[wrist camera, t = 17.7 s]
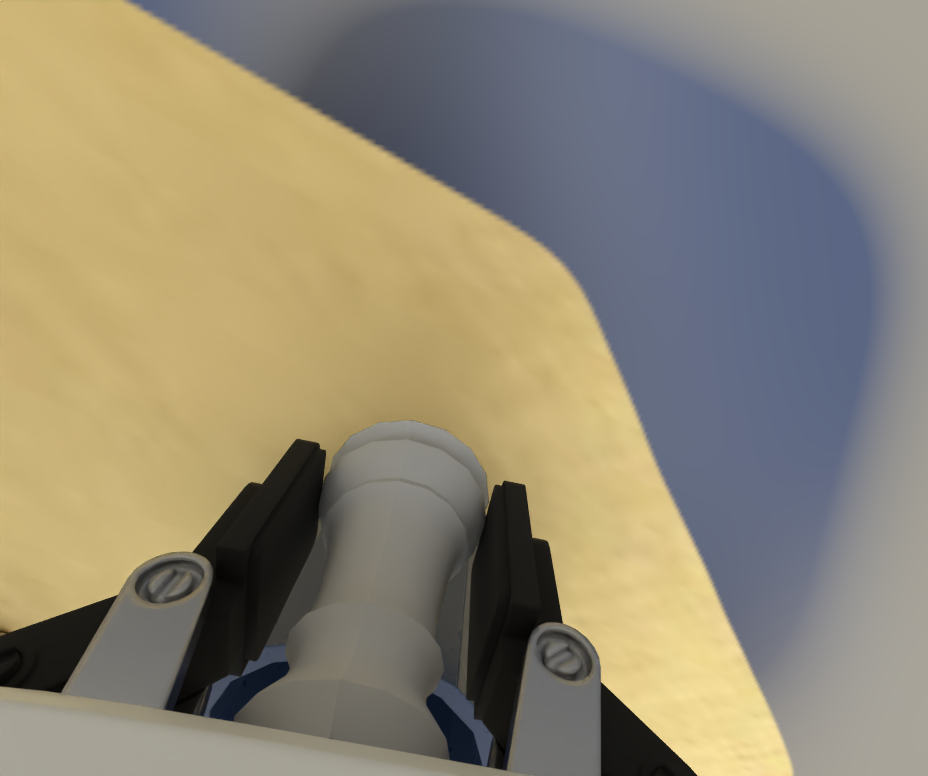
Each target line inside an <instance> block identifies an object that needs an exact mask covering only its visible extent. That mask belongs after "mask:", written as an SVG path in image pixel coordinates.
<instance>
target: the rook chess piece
mask: <svg viewBox="0 0 928 776" xmlns="http://www.w3.org/2000/svg"><path fill="white" fill-rule="evenodd" d="M488 502H489V499H488V488H487V476H486V473H485V472H484V470H483V468H482V467H481V465H480V463H479V461H478V460H477V458H476V456H475V455H474V453H473V451H472V450H471V449H470V448H469V447H468V446H466V445H465V444H464V443H462V442H461V441H460V440H458V439H457V438H456V437H454V436H453V435H451V434H450V433H449V432H447V431H446V430H444V429H441V428H437V427H434V426H430V425H427V424H424V423H420V422H417V421H413V420H410V421H394V422H379V423H377V424H375V425H373V426H371V427H369V428H367V429H364V430H362V431H360V432H358V433H356V434H354V435H352V436H350V438H349V439H348V440H347V441H346V442H345V444H344V445H343V446H342V447H341V448H340V450H339V451H338V452H337V453H336V454H335V456H334V457H333V459H332V463H331V467H330V472H329V473H328V474H327V475H326V476H325V479H324V483H323V488H322V492H321V497H320V502H319V509H318V515H319V519H320V523H321V526H322V530H323V532H322V536H323V540H324V544H325V548H326V552H327V560H326V565H325V569H324V573H323V577H322V581H321V586H320V590H319V593H318V595H317V597H316V600H315V602H314V605H313V607H312V609H311V612H309V613H307V614H306V615H305V616H304V617H303V618H302V619H301V620H300V621H299V622H298V623H297V624H296V625H295V626H294V627H293V628H292V629H291V630H290V631H289V636H288V640H287V645H286V649H285V655H286V658H287V661H288V664H289V666H290V669H289V671H288V673H287V675H286V676H284V677H283V678H281V679H279V680H278V681H276V682H275V683H273V684H271V685H270V686H268V687H267V688H265V689H264V690H262V691H260V692H259V693H257V694H256V695H255V696H254V697H253V698H252V699H251V700H250V701H249V702H248V703H247V704H246V705H245V706H244V707H243V708H242V709H241V710H240V711H239V712H238V713H237V714H236V715H235V716H234V722H238V723H244V724H249V725H255V726H261V727H267V728H272V729H278V730H284V731H289V732H295V733H301V734H306V735H312V736H318V737H323V738H329V739H334V740H340V741H346V742H351V743H357V744H363V745H368V746H374V747H379V748H385V749H391V750H396V751H402V752H407V753H413V754H418V755H424V756H429V757H435V758H440V759H445V760H450V758H449V752H448V746H447V740H446V738H445V736H444V734H443V733H442V731H441V729H440V728H439V726H438V724H437V723H436V721H435V719H434V717H433V716H432V714H431V712H430V711H429V709H428V707H427V706H426V699H427V697H428V696H429V695H430V694H432V693H433V692H434V691H435V690H436V688H437V686H438V683H439V681H440V679H441V676H442V674H443V672H444V666H443V660H442V653H441V648H440V646H439V645H438V644H437V642H436V634H437V625H438V618H439V615H440V611H441V608H442V604H443V600H444V597H445V593H446V589H447V586H448V582H449V581H450V580H451V579H452V578H453V577H454V576H455V575H456V574H457V573H458V572H460V569H461V567H462V565H463V564H464V563H465V562H466V561H467V560H468V559H469V558H470V557H471V556H472V555H473V553H474V551H475V548H476V546H477V544H478V541H479V539H480V536H481V534H482V531H483V529H484V526H485V521H486V514H485V510H486V507H487V505H488Z"/></svg>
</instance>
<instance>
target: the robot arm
mask: <svg viewBox="0 0 928 776" xmlns="http://www.w3.org/2000/svg"><path fill="white" fill-rule="evenodd" d="M325 459H326V451H325V450H322V449H320V445H319V443H316V442H311V441H306V440H301V439H296V440H295V441H294V443H293V444H292V445H291V447H290V448H289V449H288V451H287V452H286V453H285V455H284V456H283V457H282V459H281V460H280V461H279V463H278V464H277V465H276V467H275V468H274V469H273V471H272V472H271V473H270V474H269V476H268V477H267V478H266V480H265V481H264V482H263V484H258V483H253V482H251V483H249V484H248V485H247V486H246V487H245V488H244V489H243V490H242V491H241V493H240V494H239V495H238V496H237V498H236V499H235V500H234V501H233V503H232V504H231V505H230V506H229V508H228V509H227V510H226V511H225V512H224V514H223V515H222V516H221V517H220V519H219V520H218V521H217V522H216V524H215V525H214V526H213V527H212V529H211V530H210V531H209V532H208V534H207V535H206V536H205V537H204V539H203V540H202V541H201V542H200V543H199V545H198V546H197V547H196V548H195V550H194V551H193V552H192V553H190V552H172V553H167V554H164V555H160V556H157V557H155V558H153V559H150V560H148V561H146V562H145V563H143V564H142V565H140V566H139V567H138V568H136V569H135V570H134V571H133V573H132V574H131V575H130V576H129V578H128V579H127V581H126V582H125V584H124V586H123V587H122V589H121V591H120V593H119V594H118V595H116V596H113V597H111V598H108V599H105V600H102V601H99V602H96V603H93V604H91V605H88V606H85V607H82V608H79V609H76V610H73V611H71V612H68V613H65V614H62V615H59V616H56V617H53V618H50V619H48V620H45V621H42V622H39V623H36V624H33V625H30V626H28V627H25V628H22V629H19V630H16V631H13V632H10V633H7V634H5V635H2V636H0V776H697V775H696V774H695V772H694V771H693V770H692V769H691V768H690V767H689V766H688V765H687V764H686V763H685V762H684V761H683V760H682V759H681V758H680V757H679V756H678V755H677V754H676V753H675V752H673V751H672V750H671V749H670V748H669V747H668V746H667V745H666V744H665V743H664V742H663V741H662V740H661V739H660V738H659V737H658V736H657V735H656V734H655V733H654V732H653V731H652V730H651V729H649V728H648V727H647V726H646V725H645V724H644V723H643V722H642V721H641V720H640V719H639V718H638V717H637V716H636V715H635V714H634V713H633V712H632V711H631V710H630V709H629V708H628V707H627V706H625V705H624V704H623V703H622V702H621V701H620V700H619V699H618V698H617V697H616V696H615V695H614V694H613V693H612V692H611V691H610V690H609V689H608V688H607V687H606V686H605V685H604V684H603V683H601V667H600V661H599V656H598V654H597V652H596V650H595V648H594V646H593V645H592V644H591V643H590V641H589V640H588V639H587V638H586V637H585V636H584V635H583V634H581V633H580V632H579V631H578V630H576V629H574V628H572V627H570V626H568V625H565V624H563V621H562V616H561V610H560V604H559V598H558V593H557V587H556V581H555V575H554V570H553V564H552V558H551V552H550V547H549V543H548V542H547V541H546V540H541V539H536V538H532V533H531V525H530V517H529V510H528V502H527V494H526V487H525V485H523V484H518V483H513V482H508V481H504V482H503V484H502V486H500V485H495V487H494V489H493V493H492V497H491V500H490V504H489V507H488V511H487V514H486V521H485V526H484V529H483V531H482V534H481V536H480V539H479V543H478V546H477V550H476V554H475V557H474V561H473V565H472V571H471V586H470V610H469V634H468V658H467V682H466V699H467V700H468V701H474V719H475V720H481V721H482V723H483V724H484V725H485V726H486V728H487V729H488V730H489V731H490V733H491V734H492V735H493V738H492V742H491V747H490V752H489V757H488V761H487V766H486V767H483V766H478V765H473V764H467V763H462V762H456V761H451V760H445V759H440V758H435V757H429V756H424V755H418V754H413V753H407V752H402V751H396V750H391V749H385V748H379V747H374V746H368V745H363V744H357V743H351V742H346V741H340V740H334V739H329V738H323V737H318V736H312V735H306V734H301V733H295V732H289V731H284V730H278V729H272V728H267V727H261V726H255V725H249V724H244V723H238V722H232V721H226V720H220V719H214V718H209V717H204V714H205V711H206V707H207V704H208V701H209V697H210V694H211V691H212V685H213V683H215V682H217V681H219V680H221V679H223V678H225V677H227V676H228V675H233V676H238V677H241V676H242V674H243V672H244V670H245V668H246V666H247V664H248V662H249V661H255V662H256V661H257V660H258V659H259V657H260V655H261V653H262V651H263V649H264V647H265V645H266V643H267V641H268V639H269V637H270V635H271V633H272V631H273V629H274V627H275V624H276V622H277V620H278V618H279V616H280V614H281V612H282V610H283V608H284V606H285V604H286V602H287V600H288V598H289V595H290V593H291V591H292V589H293V587H294V585H295V583H296V581H297V579H298V577H299V575H300V573H301V571H302V568H303V566H304V564H305V562H306V560H307V558H308V556H309V554H310V552H311V550H312V548H313V546H314V543H315V540H316V537H317V532H318V523H319V515H318V509H319V502H320V497H321V492H322V486H323V477H324V468H325Z"/></svg>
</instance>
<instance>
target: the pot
mask: <svg viewBox="0 0 928 776" xmlns="http://www.w3.org/2000/svg"><path fill="white" fill-rule="evenodd" d="M322 532H323V530H322V526H321V523H320V519H319V523H318V532H317V537H316V540H315V543H314V546H313V548H312V550H311V552H310V554H309V556H308V558H307V560H306V562H305V564H304V566H303V568H302V571H301V573H300V575H299V577H298V579H297V581H296V583H295V585H294V587H293V589H292V591H291V593H290V595H289V598H288V600H287V602H286V604H285V606H284V608H283V610H282V612H281V614H280V616H279V618H278V620H277V622H276V624H275V627H274V629H273V631H272V633H271V635H270V637H269V639H268V641H267V643H266V645H265V647H264V649H263V651H262V653H261V655H260V657H259V659H258V660H257V661H256V662H255V661H249V662H248V664H247V666H246V668H245V670H244V672H243V674H242V676H241V677H238V676H233V675H228V676H227V677H225V678H223V679H221V680H219V681H217V682H215V683H213V685H212V691H211V694H210V697H209V701H208V704H207V707H206V711H205V714H204V717H209V718H214V719H220V720H226V721H232V722H234V716H235V715H236V714H237V713H238V712H239V711H240V710H241V709H242V708H243V707H244V706H245V705H246V704H247V703H248V702H249V701H250V700H251V699H252V698H253V697H254V696H255V695H256V694H257V693H259V692H260V691H262V690H264V689H265V688H267V687H268V686H270V685H271V684H273V683H275V682H276V681H278V680H279V679H281V678H283V677H284V676H286V675H287V673H288V671H289V669H290V666H289V664H288V661H287V658H286V655H285V649H286V645H287V640H288V636H289V631H290V630H291V629H292V628H293V627H294V626H295V625H296V624H297V623H298V622H299V621H300V620H301V619H302V618H303V617H304V616H305V615H306V614H307V613H309V612H311V609H312V607H313V605H314V602H315V600H316V597H317V595H318V593H319V590H320V586H321V581H322V577H323V573H324V569H325V565H326V560H327V552H326V548H325V544H324V540H323V536H322ZM478 543H479V541H478ZM477 546H478V544H477ZM477 546H476V548H475V551H474V553H473V555H472V556H471V557H470V558H469V559H468V560H467V561H466V562H465V563H464V564H463V565H462V567H461V569H460V572H458V573H457V574H456V575H455V576H454V577H453V578H452V579H451V580H450V581H449V582H448V586H447V589H446V593H445V597H444V600H443V604H442V608H441V611H440V615H439V618H438V625H437V634H436V642H437V644H438V645H439V646H440V648H441V653H442V660H443V666H444V672H443V674H442V676H441V679H440V681H439V683H438V686H437V688H436V690H435V691H434V692H433V693H432V694H430V695H429V696H428V697H427V699H426V706H427V707H428V709H429V711H430V712H431V714H432V716H433V717H434V719H435V721H436V723H437V724H438V726H439V728H440V729H441V731H442V733H443V734H444V736H445V738H446V740H447V746H448V752H449V758H450V760H451V761H456V762H462V763H467V764H473V765H478V766H483V767H486V766H487V761H488V757H489V752H490V747H491V742H492V738H493V735H492V734H491V733H490V731H489V730H488V729H487V728H486V726H485V725H484V724H483V723H482V721H481V720H475V719H474V701H468V700H467V699H466V682H467V658H468V634H469V610H470V586H471V571H472V565H473V561H474V557H475V554H476V550H477Z"/></svg>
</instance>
